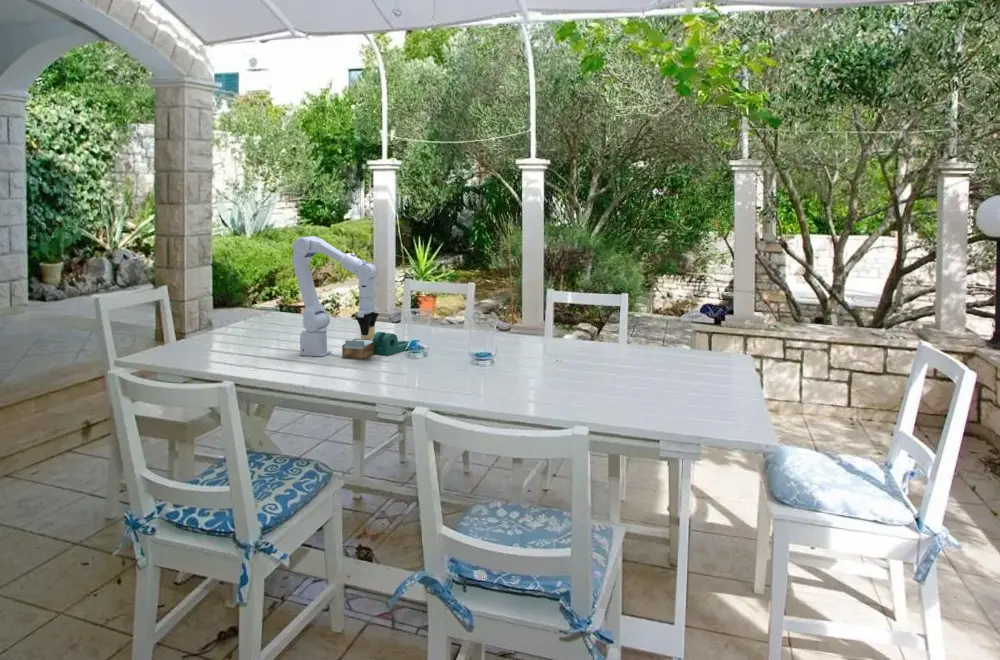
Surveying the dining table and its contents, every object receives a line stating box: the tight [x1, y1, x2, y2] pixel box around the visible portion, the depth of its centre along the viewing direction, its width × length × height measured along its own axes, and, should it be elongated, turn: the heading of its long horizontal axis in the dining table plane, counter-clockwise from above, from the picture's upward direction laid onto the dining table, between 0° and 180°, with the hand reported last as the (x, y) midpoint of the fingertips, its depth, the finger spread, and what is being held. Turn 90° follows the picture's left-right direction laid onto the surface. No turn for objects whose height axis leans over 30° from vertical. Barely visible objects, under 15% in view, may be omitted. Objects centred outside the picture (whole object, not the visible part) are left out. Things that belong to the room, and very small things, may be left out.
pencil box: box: [341, 337, 375, 360], centre depth 279 cm, size 9×14×5 cm, turn 171°
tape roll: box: [360, 326, 376, 339], centre depth 272 cm, size 5×5×4 cm
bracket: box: [373, 331, 410, 356], centre depth 287 cm, size 18×7×8 cm, turn 150°
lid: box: [344, 339, 373, 349], centre depth 278 cm, size 8×13×3 cm, turn 171°
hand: (367, 333), depth 272 cm, fingers closed on tape roll, 5 cm apart
